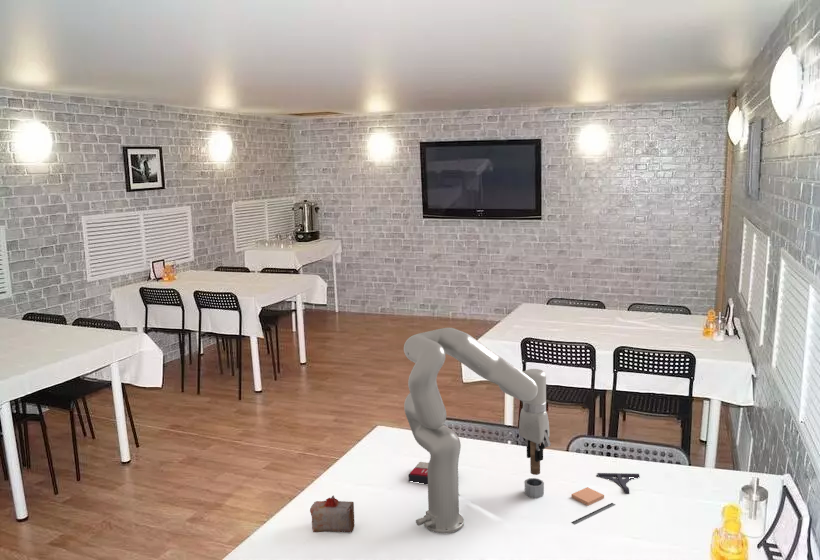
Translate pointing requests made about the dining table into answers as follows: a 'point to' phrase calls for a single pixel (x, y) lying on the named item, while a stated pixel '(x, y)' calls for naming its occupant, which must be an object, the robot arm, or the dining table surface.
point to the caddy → (534, 488)
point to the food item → (332, 516)
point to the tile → (587, 496)
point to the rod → (533, 464)
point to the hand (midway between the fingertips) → (534, 458)
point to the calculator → (419, 473)
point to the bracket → (619, 479)
